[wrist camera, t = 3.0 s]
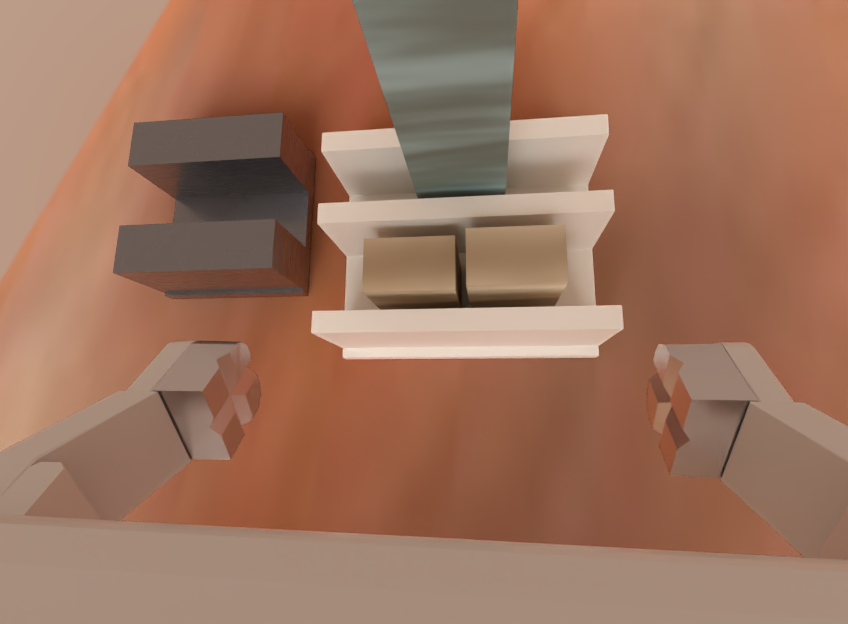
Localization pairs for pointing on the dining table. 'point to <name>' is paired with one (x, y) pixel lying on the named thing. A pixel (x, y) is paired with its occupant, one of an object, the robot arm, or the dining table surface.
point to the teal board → (446, 88)
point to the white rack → (411, 217)
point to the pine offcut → (516, 266)
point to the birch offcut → (412, 272)
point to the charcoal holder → (223, 208)
